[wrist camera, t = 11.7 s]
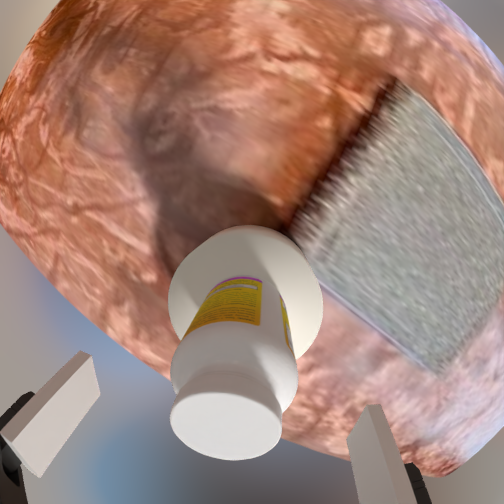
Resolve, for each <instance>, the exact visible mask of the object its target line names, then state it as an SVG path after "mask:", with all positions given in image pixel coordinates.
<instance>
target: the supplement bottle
mask: <svg viewBox="0 0 504 504" xmlns="http://www.w3.org/2000/svg"><path fill="white" fill-rule="evenodd" d="M170 375H171V382H172V386H173V389H174V391H175V393H176V395H177V396H176V398H175V401H174V403H173V406H172V409H171V413H170V423H171V426H172V429H173V431H174V432H175V434H176V435H177V436H178V438H179V439H180V440H181V441H182V442H184V443H185V444H186V445H187V446H189V447H190V448H192V449H193V450H195V451H197V452H199V453H202V454H204V455H207V456H210V457H214V458H218V459H224V460H242V459H250V458H254V457H257V456H260V455H262V454H264V453H266V452H268V451H269V450H271V449H272V448H273V447H274V446H275V445H276V444H277V442H278V441H279V439H280V436H281V432H282V413H283V412H284V411H285V410H286V409H287V408H288V406H289V405H290V404H291V402H292V400H293V398H294V396H295V394H296V391H297V386H298V371H297V364H296V359H295V354H294V348H293V342H292V337H291V331H290V325H289V320H288V314H287V310H286V306H285V303H284V300H283V298H282V296H281V294H280V293H279V292H278V290H277V289H276V288H275V287H274V286H273V285H272V284H270V283H269V282H267V281H266V280H264V279H261V278H259V277H256V276H251V275H236V276H232V277H228V278H226V279H224V280H222V281H220V282H219V283H218V284H216V285H215V286H214V287H213V288H212V289H211V290H210V292H209V293H208V295H207V296H206V298H205V300H204V301H203V303H202V305H201V306H200V308H199V310H198V312H197V313H196V315H195V317H194V319H193V320H192V322H191V324H190V326H189V327H188V329H187V331H186V333H185V335H184V336H183V338H182V340H181V342H180V343H179V345H178V347H177V349H176V351H175V353H174V356H173V358H172V362H171V369H170Z"/></svg>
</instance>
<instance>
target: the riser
mask: <svg viewBox="0 0 504 504" xmlns="http://www.w3.org/2000/svg"><path fill="white" fill-rule="evenodd" d="M236 275H251V276H256V277H259V278H261V279H264V280H266V281H267V282H269V283H270V284H272V285H273V286H274V287H275V288H276V289H277V290H278V292H279V293H280V294H281V296H282V298H283V300H284V303H285V306H286V310H287V314H288V320H289V325H290V331H291V337H292V342H293V348H294V354H295V359H296V360H297V359H298V358H299V357H301V356H302V355H303V354H304V353H305V352H306V351H307V349H308V348H309V347H310V346H311V344H312V343H313V341H314V339H315V338H316V336H317V334H318V331H319V329H320V325H321V321H322V316H323V299H322V293H321V289H320V286H319V284H318V281H317V279H316V277H315V275H314V273H313V271H312V269H311V267H310V265H309V263H308V261H307V259H306V257H305V255H304V254H303V253H302V251H301V250H300V248H299V247H298V246H297V245H296V244H295V243H294V242H293V241H292V240H290V239H289V238H288V237H286V236H285V235H283V234H281V233H280V232H278V231H275V230H273V229H270V228H267V227H263V226H257V225H240V226H234V227H230V228H227V229H225V230H222V231H220V232H218V233H216V234H215V235H213V236H211V237H210V238H209V239H208V240H206V241H205V242H204V243H202V244H201V245H200V246H198V247H197V248H196V249H195V250H193V251H192V252H191V253H190V254H188V256H187V257H186V258H185V259H184V260H183V261H182V262H181V264H180V265H179V267H178V268H177V270H176V272H175V274H174V276H173V278H172V281H171V284H170V288H169V294H168V308H169V315H170V319H171V323H172V325H173V327H174V330H175V332H176V334H177V336H178V337H179V339H180V340H182V338H183V336H184V335H185V333H186V331H187V329H188V327H189V326H190V324H191V322H192V320H193V319H194V317H195V315H196V313H197V312H198V310H199V308H200V306H201V305H202V303H203V301H204V300H205V298H206V296H207V295H208V293H209V292H210V290H211V289H212V288H213V287H214V286H215V285H216V284H218V283H219V282H220V281H222V280H224V279H226V278H228V277H232V276H236Z"/></svg>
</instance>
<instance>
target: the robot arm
mask: <svg viewBox="0 0 504 504" xmlns="http://www.w3.org/2000/svg"><path fill="white" fill-rule="evenodd" d="M99 396H100V390H99V386H98V382H97V378H96V374H95V369H94V365H93V360H92V355H89V354H87V353H84V352H82V351H79V352H78V353H77V354H76V355H75V356H74V357H73V358H72V359H71V360H70V361H69V362H68V363H66V365H65V366H63V367H62V368H61V369H60V370H59V371H58V372H57V373H56V374H55V375H54V376H53V377H52V378H51V379H50V380H49V381H48V382H47V383H46V384H45V385H44V386H43V387H42V388H41V389H40V390H39V391H38V392H37V393H36V394H34V393H33V392H28V393H26V394H24V395H22V396H21V397H20V398H19V399H18V400H17V401H16V403H14V404H13V405H12V406H11V408H9V409H8V410H7V411H6V412H5V413H4V414H3V415H2V416H1V417H0V504H28V501H27V497H26V492H25V487H24V481H23V475H22V469H21V467H20V464H21V463H23V464H24V466H25V467H26V468H27V469H28V470H29V471H31V472H32V473H33V474H35V475H36V476H38V477H39V478H40V477H41V476H42V474H43V473H44V472H45V470H46V469H47V467H48V466H49V464H50V463H51V461H52V460H53V459H54V457H55V456H56V454H57V453H58V451H59V450H60V449H61V447H62V446H63V444H64V443H65V442H66V440H67V439H68V438H69V436H70V435H71V433H72V432H73V431H74V429H75V428H76V427H77V425H78V424H79V422H80V421H81V420H82V418H83V417H84V416H85V414H86V413H87V412H88V410H89V409H90V408H91V406H92V405H93V404H94V402H95V401H96V400H97V398H98V397H99ZM346 440H347V445H348V449H349V454H350V458H351V463H352V467H353V472H354V477H355V482H356V487H357V492H358V497H359V502H360V504H432V503H431V500H430V497H429V494H428V492H427V489H426V488H425V483H424V481H423V480H422V479H423V478H422V475H421V473H420V470H419V469H418V468H417V467H416V466H415V465H414V464H413V462H412V463H407V464H404V463H403V461H402V458H401V455H400V452H399V450H398V447H397V445H396V442H395V439H394V437H393V434H392V432H391V429H390V427H389V424H388V422H387V419H386V417H385V414H384V412H383V409H382V407H381V405H380V404H376V405H366V407H365V408H364V410H363V412H362V414H361V416H360V417H359V419H358V421H357V423H356V424H355V426H354V428H353V429H352V431H351V433H350V434H349V436H348V437H347V439H346Z"/></svg>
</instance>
